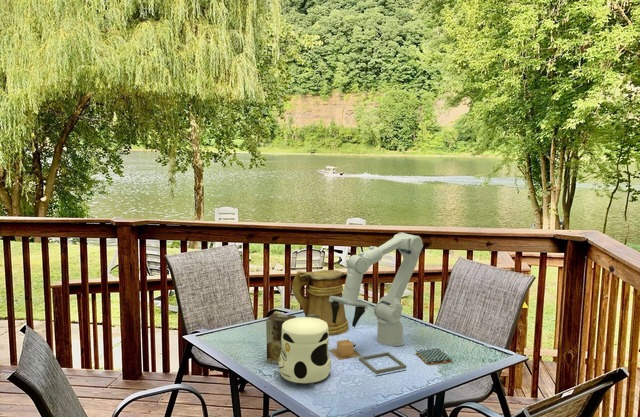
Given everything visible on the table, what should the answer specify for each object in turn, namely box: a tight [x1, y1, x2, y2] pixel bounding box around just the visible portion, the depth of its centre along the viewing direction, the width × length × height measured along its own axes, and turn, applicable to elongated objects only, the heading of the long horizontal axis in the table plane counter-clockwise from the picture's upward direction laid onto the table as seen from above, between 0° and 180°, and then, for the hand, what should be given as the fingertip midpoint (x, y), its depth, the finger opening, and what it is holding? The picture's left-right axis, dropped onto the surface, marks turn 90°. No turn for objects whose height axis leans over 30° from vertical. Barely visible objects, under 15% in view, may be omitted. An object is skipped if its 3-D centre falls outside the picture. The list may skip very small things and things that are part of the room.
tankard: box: [291, 269, 350, 337], centre depth 211 cm, size 18×24×25 cm
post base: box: [328, 348, 362, 361], centre depth 187 cm, size 9×9×4 cm
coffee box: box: [265, 313, 297, 365], centre depth 182 cm, size 9×6×16 cm
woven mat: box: [414, 347, 453, 366], centre depth 186 cm, size 10×11×2 cm
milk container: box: [278, 316, 332, 386], centre depth 169 cm, size 17×17×18 cm
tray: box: [358, 351, 407, 377], centre depth 179 cm, size 12×12×2 cm
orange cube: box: [336, 339, 355, 356], centre depth 187 cm, size 4×4×4 cm
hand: (343, 324), depth 186 cm, fingers open, 7 cm apart
